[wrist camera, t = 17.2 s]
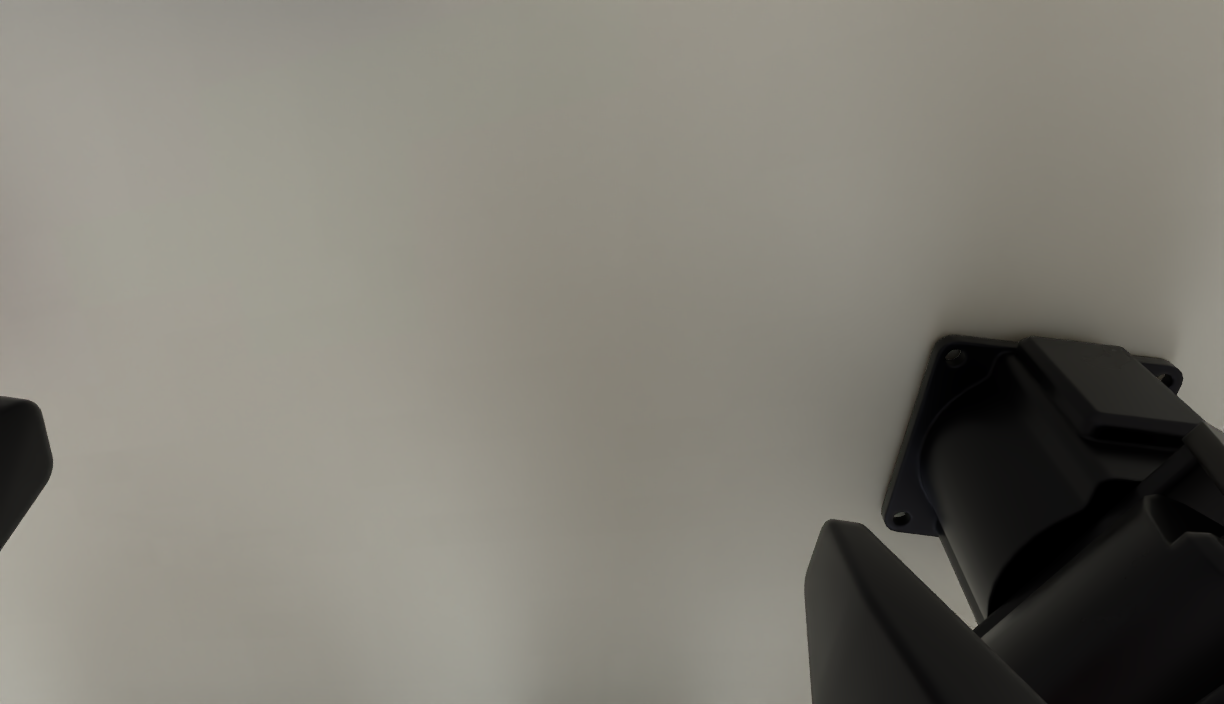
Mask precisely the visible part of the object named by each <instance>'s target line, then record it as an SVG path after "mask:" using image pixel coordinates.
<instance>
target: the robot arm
mask: <svg viewBox="0 0 1224 704" xmlns="http://www.w3.org/2000/svg"><path fill="white" fill-rule="evenodd" d="M952 350H961V351H960V354H959V355H958V357H956V358H954V359H949V360H948V359H946V356H947V354H948V353H949V352H951V351H952ZM1161 374H1165V375H1164V377H1163V378H1162V380H1161V381H1160V380H1159V379H1158V378H1156V377H1157V376H1159V375H1161ZM1182 381H1183V376H1182V372H1181V371H1180V370H1179V369H1178V368H1176V367H1175V366H1174V365H1173V364H1172V363H1170V362H1169V361H1167V360H1164V359H1158V358H1149V357H1141V356H1132V355H1131V354H1130V353H1129V352H1127V351H1126V350H1125V349H1124V348H1123V347H1120V346H1112V345H1104V344H1095V343H1087V342H1078V341H1069V340H1061V339H1052V338H1044V337H1035V336H1030V337H1028V338H1025V339H1022V340H1020V341H1019V342H1013V341H1004V340H996V339H987V338H978V337H970V336H961V335H948V336H946V337H943V338H941V339H940V340H939V341H938V342H937V343H936V344H935V346H934V347H933V349H932V352H931V355H930V359H929V362H928V365H927V368H926V371H925V374H924V377H923V381H922V384H921V387H920V390H919V393H918V396H917V399H916V403H915V406H914V409H913V412H912V415H911V418H910V421H909V425H908V428H907V431H906V434H905V437H904V440H903V443H902V447H901V450H900V453H899V456H898V459H897V462H896V465H895V468H894V472H893V475H892V478H891V481H890V484H889V487H888V490H887V494H886V497H885V500H884V503H883V506H882V513H881V514H882V516H883V519H884V522H885V524H886V526H887V527H888V528H889V529H890V530H893V531H896V532H903V533H911V534H919V535H927V536H935V537H939V538H940V540H941V542H942V544H943V547H944V549H945V551H946V553H947V556H948V558H949V560H950V562H951V565H952V567H953V569H954V571H955V574H956V576H957V578H958V580H959V583H960V585H961V587H962V590H963V592H964V594H965V596H966V599H967V601H968V603H969V605H970V608H971V610H972V612H973V614H974V617H975V619H976V621H977V623H978V626H977V627H976V628H975V629H974V630H971V629H970V628H969V627H968V626H967V625H966V624H965V623H964V622H963V621H962V620H961V619H960V618H959V617H958V616H957V615H956V614H955V613H954V612H953V611H952V610H951V609H950V608H949V607H948V606H947V605H946V604H945V603H944V602H943V601H942V600H941V599H940V598H939V597H938V596H937V595H936V594H935V593H934V592H933V591H931V590H930V589H929V588H928V587H927V586H926V585H925V584H924V583H923V582H922V581H921V580H920V579H919V578H918V577H917V576H916V575H915V574H914V573H913V572H912V571H911V570H910V569H909V568H908V567H907V566H906V565H905V564H904V563H903V562H902V561H901V560H900V559H899V558H898V557H897V556H896V555H895V554H894V553H893V552H892V551H891V550H889V549H888V548H887V547H886V546H885V545H884V544H883V543H882V542H881V541H880V540H879V539H878V538H877V537H876V536H875V535H874V534H873V533H872V532H871V531H870V530H869V529H868V528H867V527H866V526H864V525H863V524H860V523H856V522H849V521H842V520H836V519H830V520H828V521H826V522H825V524H824V525H823V527H822V529H821V531H820V534H819V537H818V540H817V543H816V546H815V548H814V551H813V554H812V557H811V560H810V563H809V566H808V569H807V572H806V577H805V585H804V595H805V609H806V623H807V637H808V651H809V665H810V679H811V693H812V704H1224V433H1223V432H1222V431H1220V430H1218V429H1217V428H1215V427H1213V426H1212V425H1210V424H1208V423H1207V422H1206V421H1205V420H1203V419H1202V418H1201V417H1200V416H1199V415H1198V414H1197V413H1196V412H1194V411H1193V410H1192V409H1191V408H1190V407H1189V406H1188V405H1187V404H1186V403H1184V402H1183V401H1182V400H1181V399H1180V398H1179V397H1178V396H1177V393H1178V391H1179V389H1180V387H1181V385H1182ZM52 469H53V457H52V453H51V448H50V444H49V440H48V436H47V432H46V428H45V423H44V419H43V415H42V412H41V409H40V408H39V407H38V405H37V404H36V403H34V402H32V401H30V400H25V399H19V398H12V397H5V396H0V551H1V549H2V548H3V546H4V545H5V543H6V542H7V540H8V539H9V538H10V536H11V535H12V533H13V532H14V530H15V529H16V527H17V526H18V524H19V523H20V522H21V520H22V519H23V517H24V516H25V514H26V513H27V511H28V510H29V508H30V507H31V506H32V504H33V503H34V501H35V500H36V498H37V497H38V495H39V494H40V493H41V491H42V490H43V488H44V487H45V485H46V484H47V482H48V480H49V478H50V476H51V473H52ZM899 512H905V515H903V516H901V517H894V515H895V514H897V513H899Z"/></svg>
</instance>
